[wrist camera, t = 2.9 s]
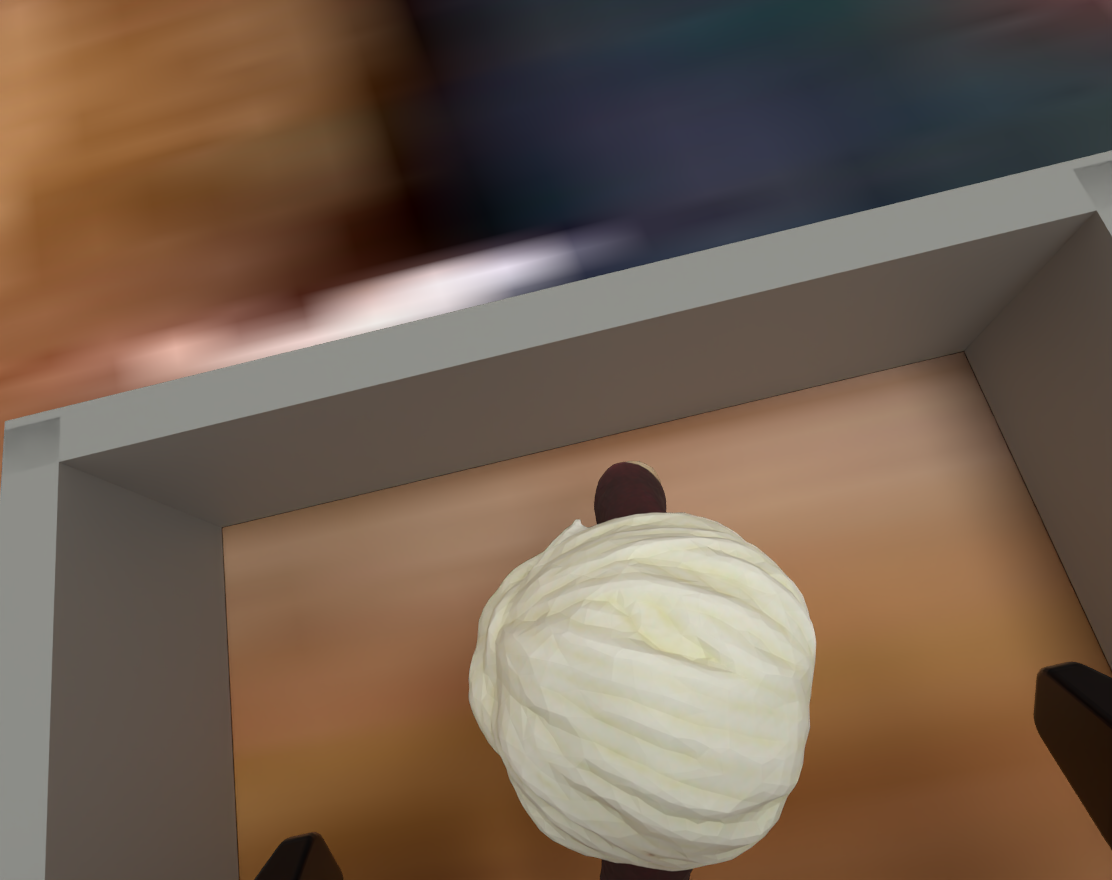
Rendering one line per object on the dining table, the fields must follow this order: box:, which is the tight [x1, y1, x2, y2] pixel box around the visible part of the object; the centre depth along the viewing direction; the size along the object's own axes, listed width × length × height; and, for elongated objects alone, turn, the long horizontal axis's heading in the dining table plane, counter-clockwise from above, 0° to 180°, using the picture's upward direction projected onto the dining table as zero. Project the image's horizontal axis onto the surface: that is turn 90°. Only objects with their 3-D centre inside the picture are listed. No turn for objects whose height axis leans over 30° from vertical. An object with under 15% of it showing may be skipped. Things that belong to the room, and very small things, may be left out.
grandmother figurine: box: [469, 461, 816, 880], centre depth 12 cm, size 8×4×13 cm, turn 9°
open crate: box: [0, 151, 1112, 880], centre depth 15 cm, size 14×23×6 cm, turn 102°
